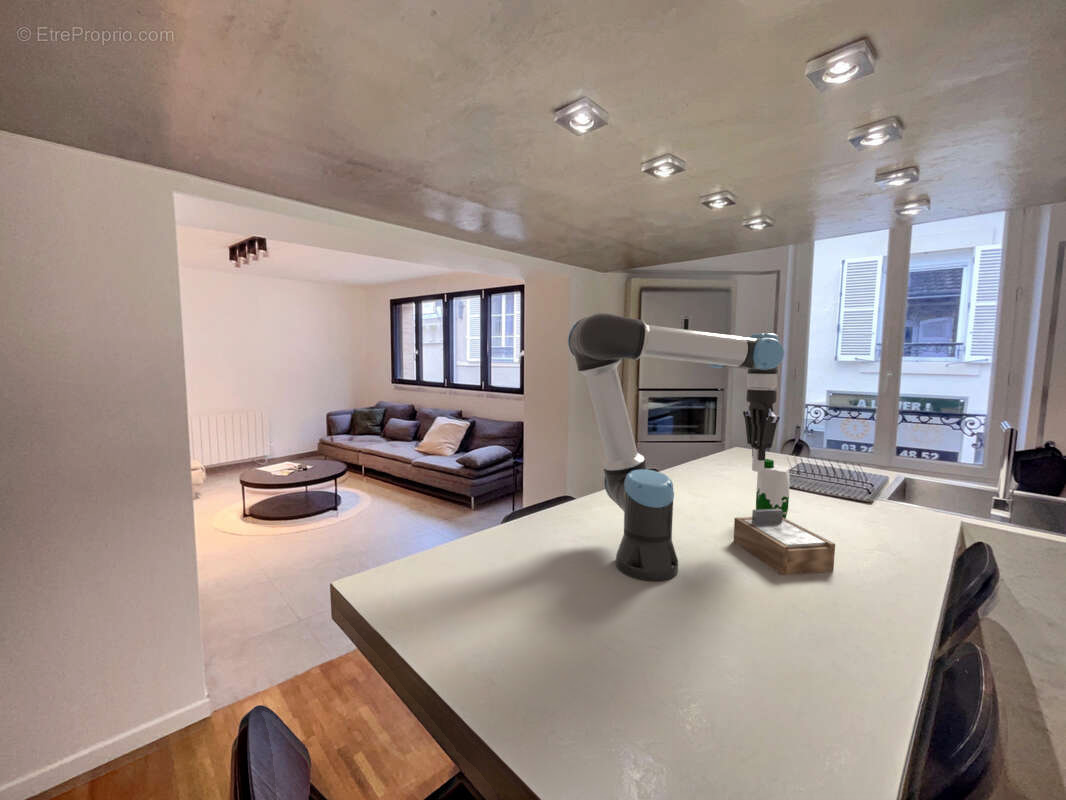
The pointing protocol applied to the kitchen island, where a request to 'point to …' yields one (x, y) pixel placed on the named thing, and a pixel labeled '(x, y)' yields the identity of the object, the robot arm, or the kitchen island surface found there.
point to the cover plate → (782, 529)
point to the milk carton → (773, 487)
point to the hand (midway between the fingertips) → (757, 470)
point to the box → (784, 550)
